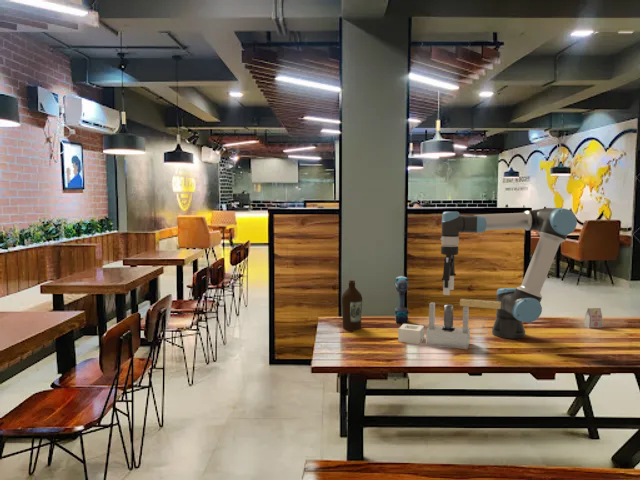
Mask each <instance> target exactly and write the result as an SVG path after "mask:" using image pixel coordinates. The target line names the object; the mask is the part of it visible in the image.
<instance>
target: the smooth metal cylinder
mask: <svg viewBox="0 0 640 480" xmlns="http://www.w3.org/2000/svg"><path fill="white" fill-rule="evenodd" d="M443 311H444V312H443V313H444V314H443V326H444V330H448V331H453V327H454V305H453V304H444V308H443Z"/></svg>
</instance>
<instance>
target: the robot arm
mask: <svg viewBox="0 0 640 480" xmlns="http://www.w3.org/2000/svg"><path fill="white" fill-rule="evenodd" d="M441 214H442V215H441V237H440V241H441V242H440V243H441V247H440V254H441V255H444V256H445V257H444V260H443V261H444V263H443V271H442V272H443V273H442V277H441V281H443V282H442V287H443V288H442V295H443V296H450V293H451V292H450V291H454V289H455V276H456V275H457V274H456V272H455V271H456V269H455V256H458V255H459V241H460V240H459V239H460V236H459V235H460V234H461V233H466V234H467V233H469V234H471V233H472V234H475V233H476V234H479V233H485V231H493V230H517V229H518V230H520V229H521V230H522V229H524V230H525V231H535V232H538V235H539V239H538V241H537V244H536V247H535V249H534V251H533V255H532V257H531V259H530V262H529V263H528V264H529V265H528V267H527V269H526V272H525V275H524V277H523V280H522V282H521V283H520V285H519V286H517V287H500V288H498V289H497V290H496V301H499V302H501V309H495V310H496V315H495V316H496V317H495V321H494V323H493V326H492V329H491V332H492V333H491V334H492V335H494V336H495V337H498V338H499V337H500V338H503V339H504V338H505V339H512V340H513V339H514V340H516V339H523V338H525V337H526V330H525V326H524V323H527V324H528V323H532V322H535V321H536V320H538V319H539V318H540V316H541V314H542V312H543V307H542V303H541V302H542V298H543V296H542V293H541V292H542V290H543V287H544V284H545V281H546V279H547V277H548V274H549V271H550V270H551V267H552V264H553V263H554V259H555V257H556V254H557V252H558V250H559V247H560V245H561V244H562V243H564V242H565V241H566V239H567V237H568V235H570V234H572V233H573V232H574V231H575V230H576V228H577V225H578V220H577V217H576V215H575V213H574V212H573V211H572V210H570V209H568V208H564V207H544V208H537V209H532V210H524V211H523V212H513V213H512V212H510V213H507V212H506V213H487V214H485V213H484V214H460V211H443V212H442V213H441Z"/></svg>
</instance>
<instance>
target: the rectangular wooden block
mask: <svg viewBox="0 0 640 480" xmlns="http://www.w3.org/2000/svg"><path fill="white" fill-rule="evenodd" d="M459 306H460V307H463V306H468V307H469V308H470V307H471V308H483V309H494V310H497V309H501V302H499V301H497V300H487V299H486V300H483V299H471V298H470V299H469V298H460V299H459Z"/></svg>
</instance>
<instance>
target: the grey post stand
mask: <svg viewBox="0 0 640 480" xmlns="http://www.w3.org/2000/svg"><path fill="white" fill-rule="evenodd" d="M428 305H429V306H428V327H427V328H426V337H425V338H426V339H425V340H426V341H425V344H426V346H427V345H428V346H435V347H444V348H452V349H460V350H461V349H462V350H468V349H469V346H470V343H471V342H470V341H471V340H470V339H471V328H469V318H470V317H469V316H470V315H469V312H470V311H469V310H470V309H469V308H470V307H468V306H462V327H460V326H459V327H458V326H453V331H448V330H444V325H440V324H436V302H433V301H432V302H430V303H429V304H428Z"/></svg>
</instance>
